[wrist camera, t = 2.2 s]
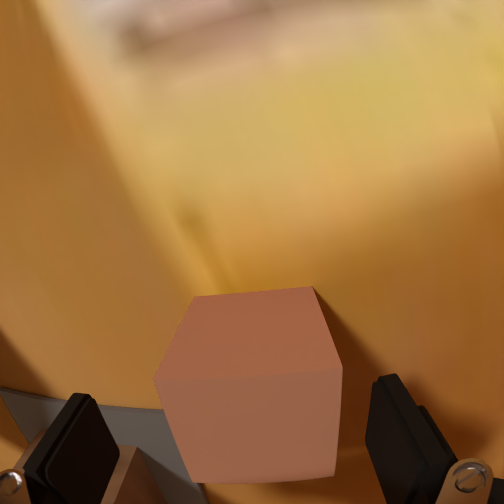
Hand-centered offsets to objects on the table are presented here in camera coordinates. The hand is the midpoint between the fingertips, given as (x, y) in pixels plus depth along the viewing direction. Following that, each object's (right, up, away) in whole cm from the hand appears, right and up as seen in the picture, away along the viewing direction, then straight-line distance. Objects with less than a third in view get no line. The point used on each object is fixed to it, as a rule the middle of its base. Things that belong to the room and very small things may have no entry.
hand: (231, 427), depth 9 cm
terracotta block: (+1, +2, +5) cm, 5 cm away
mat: (-10, -10, +8) cm, 16 cm away
